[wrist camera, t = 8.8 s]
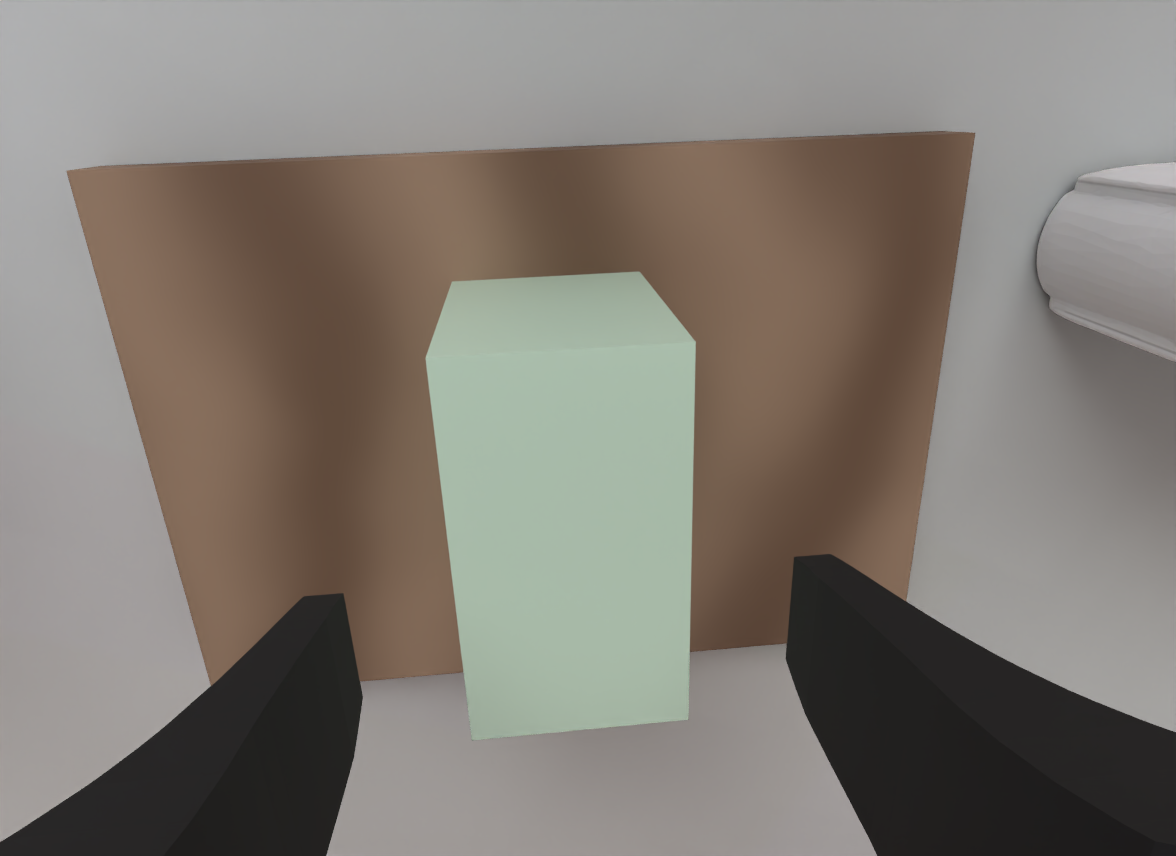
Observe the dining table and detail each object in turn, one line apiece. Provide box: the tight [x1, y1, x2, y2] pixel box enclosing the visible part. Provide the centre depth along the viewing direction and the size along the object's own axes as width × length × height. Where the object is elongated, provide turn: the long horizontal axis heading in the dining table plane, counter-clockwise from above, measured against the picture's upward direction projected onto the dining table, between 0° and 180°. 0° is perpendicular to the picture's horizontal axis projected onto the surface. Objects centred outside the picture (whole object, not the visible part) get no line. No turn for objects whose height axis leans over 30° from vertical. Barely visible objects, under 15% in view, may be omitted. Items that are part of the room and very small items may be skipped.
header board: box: [67, 131, 975, 686], centre depth 19 cm, size 20×14×4 cm
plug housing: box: [425, 271, 696, 740], centre depth 17 cm, size 4×8×6 cm, turn 2°
